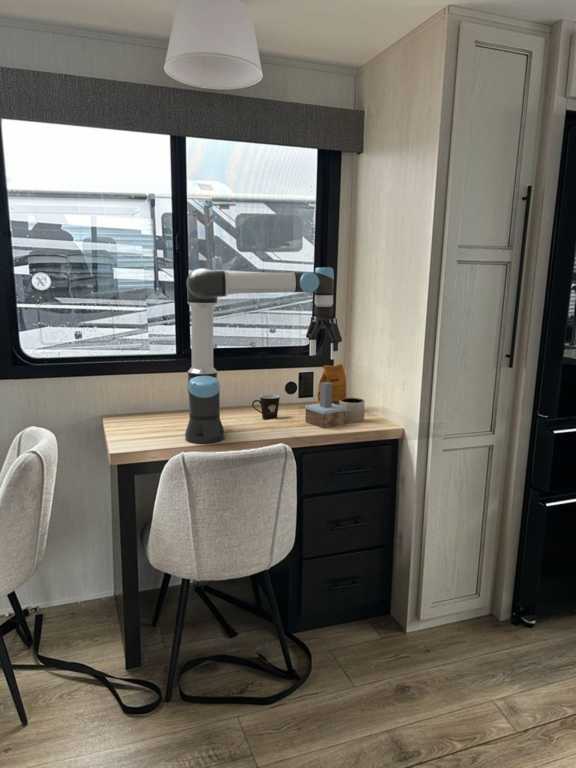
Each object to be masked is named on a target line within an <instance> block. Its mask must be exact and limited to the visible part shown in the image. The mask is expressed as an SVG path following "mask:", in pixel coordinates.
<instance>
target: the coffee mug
mask: <svg viewBox="0 0 576 768" xmlns="http://www.w3.org/2000/svg"><path fill="white" fill-rule="evenodd" d="M259 398H260V400H259V399H254V400H253V402H252V404H251V405H252V409H254V410H256V411H257V412H259V413H260V414H261V419H262V420H264V421H268V420H269V421H270V420H274V419H277V418H278V415H279V414H278V413H279V406H280V398H281V397H280V395H278V394H267V393H265V394H261V395H259ZM256 402H258V403H260V406H261V407H260V409H261V410H259V409H257V408H256V407H255V406H254V403H256Z"/></svg>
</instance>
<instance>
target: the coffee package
mask: <svg viewBox="0 0 576 768" xmlns="http://www.w3.org/2000/svg"><path fill="white" fill-rule="evenodd" d="M322 368H323V370H324V371H323V372H322V375H321V378H320V379H319V383H318V386H317V402H316V404H319V403H320V383H324V382H328V383H332V404H336V405H339V406H340V399H343V398H347V379H346V378H347V377H346V373H345V370H344V369H345V368H344V367H343V364H342V363H339V364H337V365H323V366H322Z"/></svg>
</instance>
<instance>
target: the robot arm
mask: <svg viewBox="0 0 576 768" xmlns="http://www.w3.org/2000/svg"><path fill="white" fill-rule="evenodd" d="M334 277H335V274H334V268H332V267H315V271H314V272H312V271H306V272H304V271H301V272H300V271H298V272H297V271H292V272H290V271H289V272H227V271H226V270H222V269H221V270H220V269H219V270H217V269H212V268H207V267H198V268H195V269H193V270H192V271H190V273H189V274H188V276H187V278H186V290H187V291H186V293H187V294H186V295H187V304H188V305H189V306H190V309H191V311H190V312H191V315H190V316H191V367H190V368H189V370H187V395H188V408H189V409H188V412H189V413H188V414H189V419H188V423H187V425H186V426H187V427H186V430H185V433H184V436H185V437H184V439H185V440H186V441H187V442H189V441H190V443H196V444H211V443H216V442H217V443H218V442H220V441H223V440H224V439H225V435H226V434H225V428H224V426H223V423H222V420H221V403H220V401H221V400H220V396H221V395H220V390H221V384H220V380H219V379H218V371H217V369H216V368H215V367H214V307H215V306H216V305H217V304H218V298H220V297H222V298H223V297H227V296H228V295H229V294H231V295H233V294H236V295H238V294H271V293H273V294H274V293H275V294H276V293H279V294H282V293H283V294H284V293H307V294H308V293H309V294H310V293H313V292H314V305H315V306H314V316H311V317H310V321H309V322H310V323H309V326H308V328H307V331H306V335H305V338H306V339H308V340H309V345H308V347H309V356H312V357H313V356H316V355H317V351H316V350H317V340H316V337H317V335H318V334H319V332H320V331H321V330H322V329H323V330H325V331H326V332H327V334H328V336H329V339H330V340H331V343H330V360H337V359H338V350H339V343H342V341H343V339H342V336H341V332H340V329H339V326H338V319H337V318H336V317H335V318H332V316H333V315H334V307H333V305H334V283H335V282H334V280H335V278H334Z"/></svg>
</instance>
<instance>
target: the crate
mask: <svg viewBox="0 0 576 768" xmlns="http://www.w3.org/2000/svg"><path fill="white" fill-rule="evenodd" d="M305 423H306V424H309V425H312V426H315V427H318V428H321V429H328V428H333V427H339V426H343V425H347V424H346V423H347V422H346V411H340V412H334V413H328V414H321V413H318V412H315V411H312V410H308V409H305Z"/></svg>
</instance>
